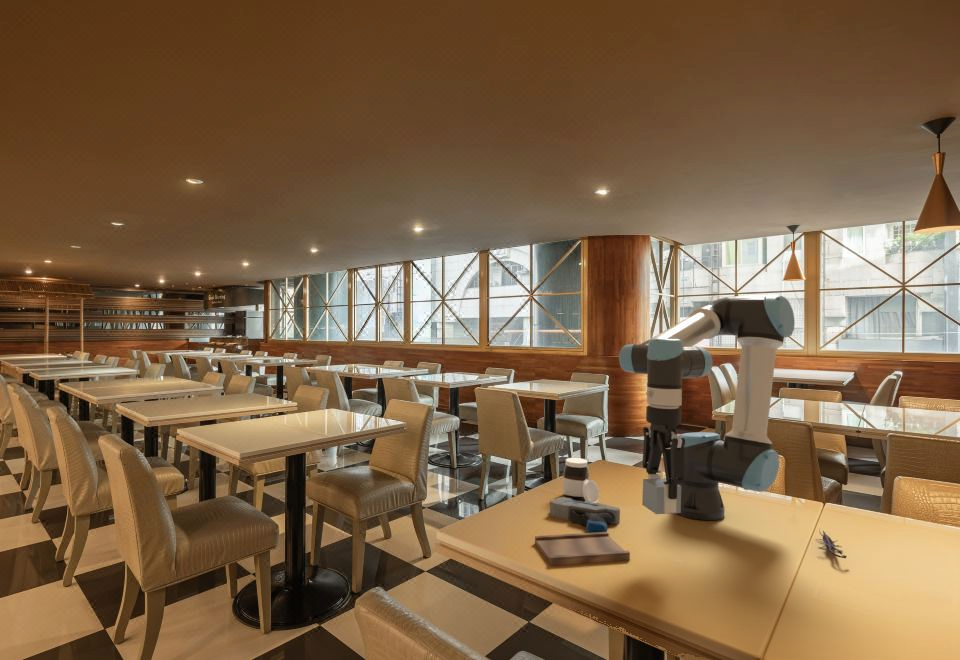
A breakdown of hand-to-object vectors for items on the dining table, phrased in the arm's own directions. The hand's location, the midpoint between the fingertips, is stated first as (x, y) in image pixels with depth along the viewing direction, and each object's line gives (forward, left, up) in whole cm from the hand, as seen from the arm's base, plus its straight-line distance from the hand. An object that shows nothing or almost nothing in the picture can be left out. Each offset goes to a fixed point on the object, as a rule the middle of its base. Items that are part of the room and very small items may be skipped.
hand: (661, 506), depth 116 cm
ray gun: (+9, -25, -13) cm, 30 cm away
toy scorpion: (-45, +1, -13) cm, 47 cm away
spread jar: (+1, -44, -13) cm, 46 cm away
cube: (0, 0, 0) cm, 1 cm away
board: (+16, -8, -13) cm, 22 cm away
